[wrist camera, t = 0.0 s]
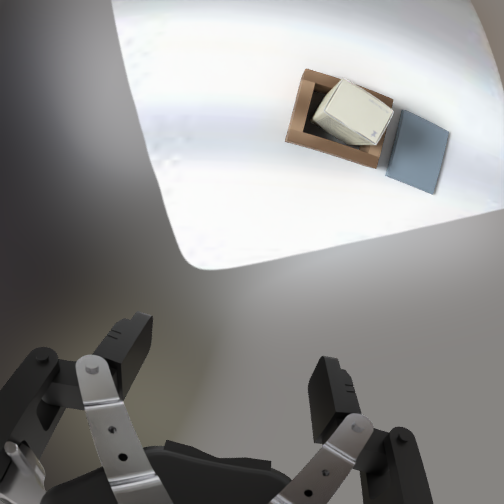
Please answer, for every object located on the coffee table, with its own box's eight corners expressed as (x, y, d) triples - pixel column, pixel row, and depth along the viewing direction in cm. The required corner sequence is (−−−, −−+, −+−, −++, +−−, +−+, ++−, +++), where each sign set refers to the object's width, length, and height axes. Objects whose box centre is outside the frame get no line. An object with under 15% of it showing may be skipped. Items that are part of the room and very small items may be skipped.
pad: (401, 110, 34) (404, 109, 33) (445, 131, 35) (448, 131, 34) (385, 175, 38) (387, 176, 37) (429, 193, 38) (432, 194, 37)
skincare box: (362, 120, 36) (397, 111, 24) (346, 146, 37) (378, 147, 26) (322, 95, 35) (343, 74, 23) (306, 122, 36) (322, 111, 25)
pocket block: (301, 76, 34) (305, 68, 30) (380, 103, 34) (393, 99, 30) (284, 141, 37) (286, 140, 33) (365, 166, 38) (376, 168, 33)
